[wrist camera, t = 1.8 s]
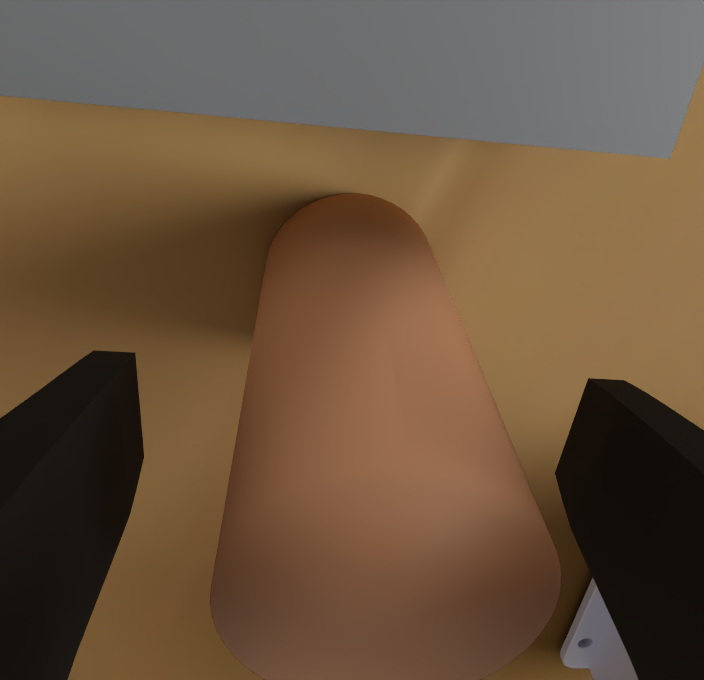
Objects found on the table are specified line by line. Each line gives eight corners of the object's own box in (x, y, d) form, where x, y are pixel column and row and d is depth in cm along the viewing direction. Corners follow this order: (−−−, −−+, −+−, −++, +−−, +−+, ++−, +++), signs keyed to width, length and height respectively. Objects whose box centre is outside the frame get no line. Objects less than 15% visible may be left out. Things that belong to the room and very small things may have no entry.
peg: (419, 352, 16) (515, 704, 8) (262, 342, 16) (212, 703, 8) (447, 201, 14) (607, 481, 6) (268, 186, 14) (206, 464, 6)
